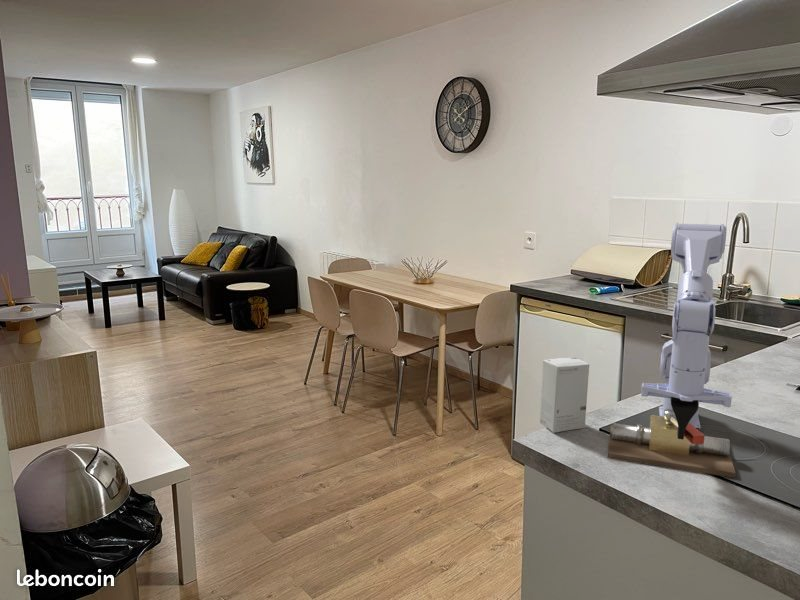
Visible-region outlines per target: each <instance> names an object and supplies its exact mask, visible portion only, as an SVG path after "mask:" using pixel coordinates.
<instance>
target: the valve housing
mask: <svg viewBox="0 0 800 600" xmlns="http://www.w3.org/2000/svg"><path fill="white" fill-rule="evenodd" d="M649 419H650V420H649V427H644V426H643V425H642V424H636V425H628V424H622V423H621V424H620V423H616V422H615V423H614V422H613V423H612V425H613V432H612V439H616V440H622V441H629V442H636V444H637V445H641V443H642V444H649V450H651V451H657V452H664V453H670V454H677V455H683V456H689V451H696V453H697V454H702V453H709V454H716V455H723V456H729V453H730V450H731V442H730V439H728V438H723V437H722V438H721V437H717V436H716V437H714V436H707V435H704V444H692V443H691V442H690V441H689V440H688V439H686V438H685V437H684V439H678V436H677V431H678V427H677V426H676V425H675V424H674V423H673V422H672V421H668V420H666V419H664V417H663V416H660V415H654V414H651V415H650V418H649Z"/></svg>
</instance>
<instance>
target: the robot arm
mask: <svg viewBox="0 0 800 600" xmlns="http://www.w3.org/2000/svg"><path fill="white" fill-rule="evenodd" d="M671 232H672V234H671V243H670V251H671V253H670V256H671V259H672V261H675V262H676V263H680V265H681V269H682V275H680V277H679V279H678V285H677V293H676V295H677V296H676V301H675V302H674V304H673V310H672V311H673V313H672V322H671V327H672V329H671V330H672V339H670V340H668V341H666V342H665V343H664V344H663V345H662V349H661V350H662V352H661V354H660V364H659V372H658V373H659V377H660V378H661V379H663V380H664V383H649V382H648V383H646V382H642V383H641V389H640V390H641V393H640V394H641V395H640V396H641V397H644V398H645V397H646V398H647V397H657V398H663V399H662V405H661V406H659V407H658V412H659V416H663V417H664V410H666V409H672V410H673V411H674V414H675V416H676V419H677V423H678V431H677V436H678V439H684V431H685V429H686V427H687V425H688V423H691V424H692V425H693V426H694V427H695V428H699V429H698V430H700V429H701V423H700V418H699V407H700V403H704V404H713V405H720V406H723V407H726V408H732V399H733V397H732V394H731V392H722V391H718V390H714V389H710V388H704V387H705V385H706V384H708V382H710V381H709V380H710V374H711V363H712V360H711V359H712V358H711V357H712V353H711V350H710V347H709V346H710V335H713V332H714V328H715V321H716V311H717V310H716V305H715V303H716V302H715V298H713V292H714V291H713V289H714V284H713V283H714V279H713V277H712V276H711V275H710V274H709V273H708V268H709V267H710V265H712V264H713V265H714V264H717V263H720V260H721V259H722V258H723V254H724V253H725V248H726V241H727V226H726V225H725V224H724V223H723V224H722V223H720V224H703V223H702V224H697V223H679V222H676V223H675V224H673V226H672V231H671ZM708 330H709V331H710V333H709V332H708Z"/></svg>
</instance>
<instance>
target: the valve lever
mask: <svg viewBox="0 0 800 600" xmlns="http://www.w3.org/2000/svg"><path fill="white" fill-rule="evenodd" d="M664 419H666V420H668V421H672V422H673V423H674V424H675V425H676V426H677V427H678V423H677V419H676V416H675V414H674V411H673V410H672V409H666V410H664ZM704 436H705V435H704V433H702V432H701V431H700V429H696V428H695V427H694V426H693V425H692V424H691V423H688V425H687V427H686V429H685V431H684V437H685V438H686V439H688V440H689V441H690V442H691V443H692V444H704Z"/></svg>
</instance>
